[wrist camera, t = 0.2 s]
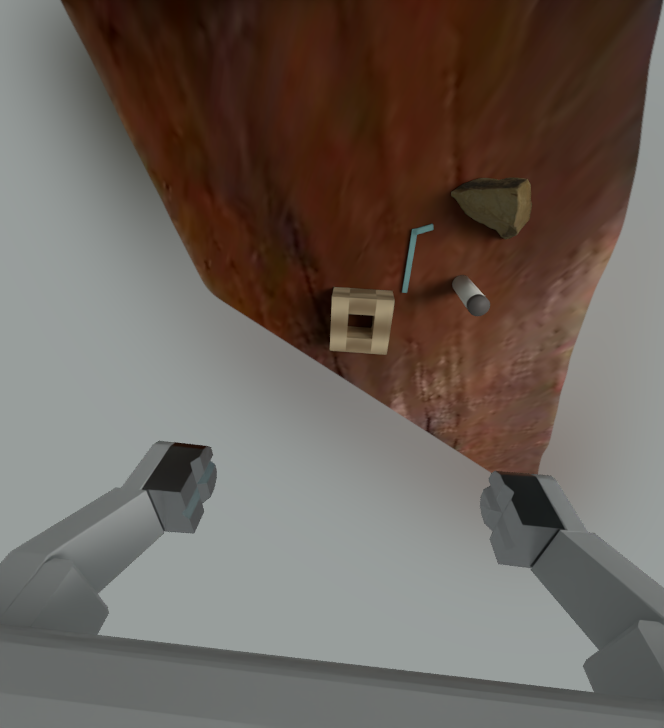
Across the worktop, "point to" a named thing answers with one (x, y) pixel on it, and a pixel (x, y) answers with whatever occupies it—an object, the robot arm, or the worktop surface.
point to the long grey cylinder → (470, 295)
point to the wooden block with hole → (361, 304)
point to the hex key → (411, 253)
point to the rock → (497, 203)
